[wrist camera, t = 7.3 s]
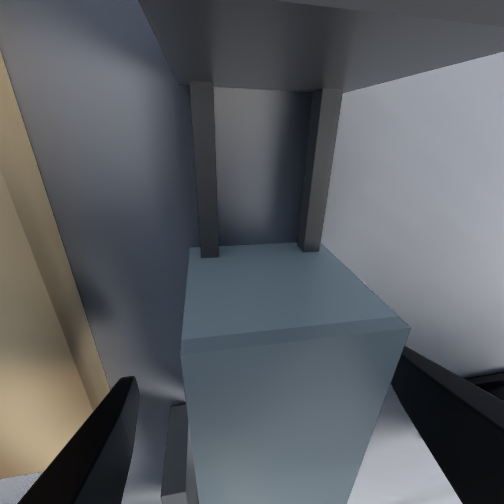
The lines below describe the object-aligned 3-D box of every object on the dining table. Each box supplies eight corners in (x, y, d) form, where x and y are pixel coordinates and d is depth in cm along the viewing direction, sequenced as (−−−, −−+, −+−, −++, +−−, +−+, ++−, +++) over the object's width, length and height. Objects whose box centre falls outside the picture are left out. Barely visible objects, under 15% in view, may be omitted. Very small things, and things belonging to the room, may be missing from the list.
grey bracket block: (171, 32, 7) (81, -269, 2) (345, 47, 8) (644, -122, 3) (202, 393, 13) (203, 570, 8) (298, 379, 14) (357, 530, 9)
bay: (170, 406, 13) (153, 556, 8) (326, 382, 14) (385, 499, 10) (186, 491, 16) (180, 629, 12) (310, 465, 17) (347, 580, 13)
